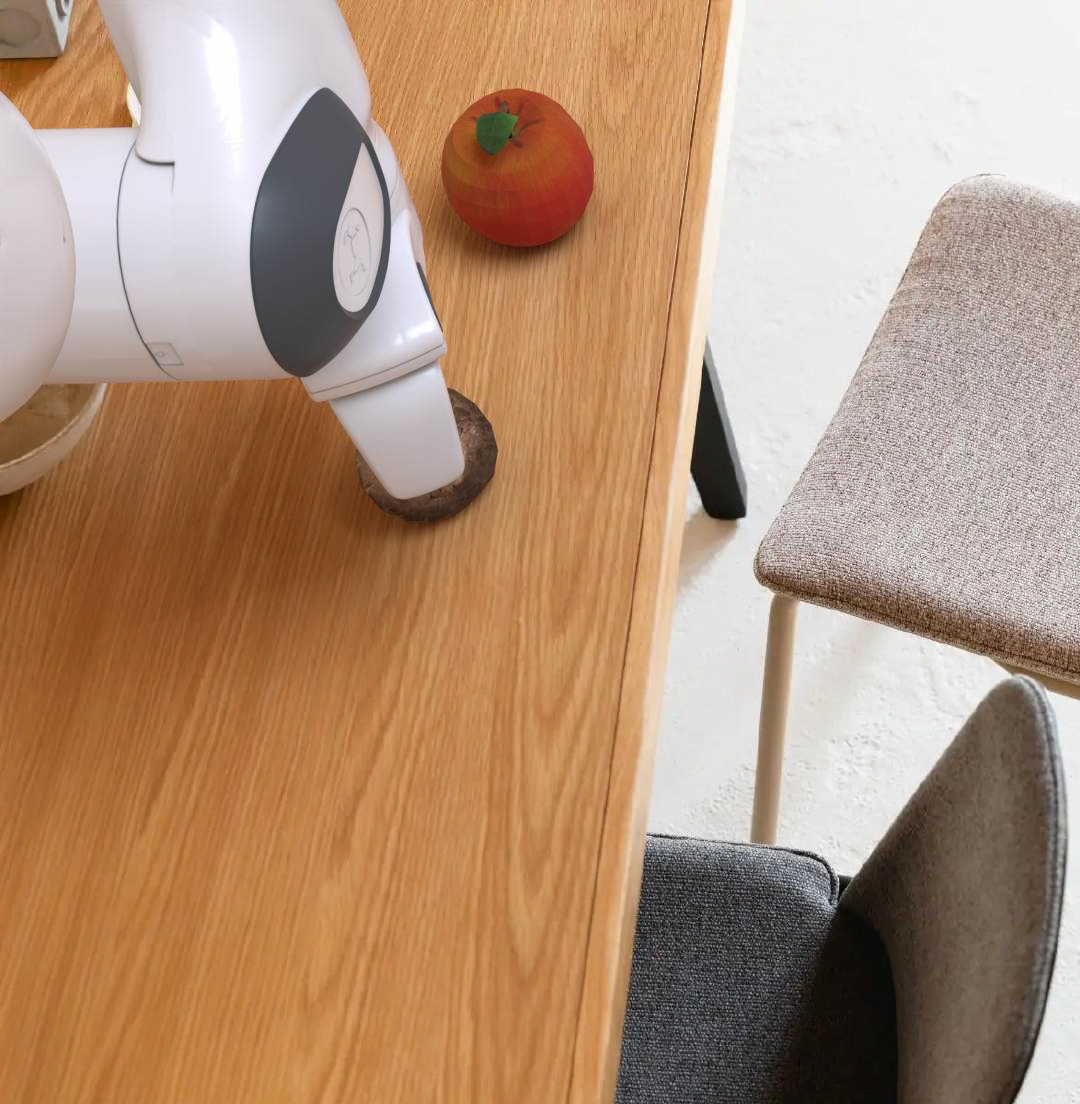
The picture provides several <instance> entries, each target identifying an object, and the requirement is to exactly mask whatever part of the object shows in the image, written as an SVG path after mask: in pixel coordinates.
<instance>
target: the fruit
mask: <svg viewBox="0 0 1080 1104" xmlns="http://www.w3.org/2000/svg"><path fill="white" fill-rule="evenodd" d="M441 154H442V155H441V163H440V173H441V174H440V175H441V179H442V185H443V188H444V190H445V194H446V196H447V200H448V201H449V204H450V205H451V207H452V209H453V210H454V212H455V213H456V215H457V216H458V217H459V218H460V219H461V220H462V221H463V222H465V223H466V224H467V225H468V227H470V228H471V229H472V230H473V231H474V232H475V233H477V234H478V235H480V236H482V237H484V238H487V239H489V240H491V241H493V242H496V243H499V244H502V245H507V246H511V247H517V248H523V247H536V246H537V247H538V246H541V245H544V244H548V243H551V242H554V241H555V240H556V239H558V238H560V237H562V236H564V235H566V233H568V232H569V231H570V230H571V229H572V228H573V227H574V226H575V225H576V224H577V223H578V221H580V219H582V217H583V216H584V213H585V212H586V209H587V207H588V205H589V203H590V200H591V197H592V194H593V192H594V185H595V184H594V180H595V171H594V170H595V165H594V162H595V161H594V156H593V154H592V152H591V149H590V147H589V144H588V142H587V139H586V136H585V134H584V132H583V129H582V128H581V126H580V125H579V124H578V123H577V122H576V120H575V119H574V118H573V117H572V116H571V114H570V113H569V112H568V111H567V110H566V109H565V108H564V107H563V106H562V105H561V104H560V102H559V103H558V102H557V101H555V100H554V99H552V98H551V97H549V96H547V95H546V94H545V93H541V92H538V91H534V90H530V89H529V90H528V89H524V88H519V87H516V88H503V89H499V90H496V91H493V92H491V93H488V94H486V95H484V96H482V97H481V98H479V99H478V100H476V101H475V102H473V103H472V104H470V105H469V107H467V108H466V110H465V111H463V113H462V114H461V115H460V116H459V117H458V118H457V119H456V120H455V122H454V123H453V124H452V126H451V128H450V129H449V132H448V134H447V135H446V138H445V140H444V144H443V149H442V153H441Z"/></svg>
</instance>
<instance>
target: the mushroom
mask: <svg viewBox="0 0 1080 1104" xmlns="http://www.w3.org/2000/svg"><path fill="white" fill-rule="evenodd" d="M447 390H448V394H449V398H450V402H451V406H452V410H453V414H454V418H455V422H456V426H457V430H458V434H459V438H460V442H461V446H462V451H463V455H464V463H465V467H464V471H463V473H462V475H461V476H460V477H459V478H458V479H456V480H455V481H453V482H451V483H449V484H448V485H446V486H443V487H441V488H439V489H436V490H434V491H431V492H429V493H426V494H423V495H420V496H417V497H413V498H409V499H397V498H395V497H393V496H392V495H390V494H389V493H388V492H387V491H386V489H385V488H384V487H383V485H382V484H381V483H380V481H379V480H378V478H377V477H376V475H375V474H374V473H373V471H372V470H371V468H370V467H369V465H368V464H367V462H366V461H365V459H364V458H363V456H362V455H361V453H360V452H359V450H358V449H357V448H356V452H355V457H354V462H355V466H356V471H357V475H358V479H359V483H360V487H361V489H362V490H363V491H364V492H365V493H366V495H367V496H368V497H369V498H370V499H371V500H372V501H373V502H374V503H375V504H376V506H377V507H378V508H379V509H380V510H381V511H384V512H386V513H388V514H390V515H393V516H394V517H396V518H398V519H400V520H402V521H404V522H412V523H413V522H414V523H425V524H434V523H436V522H439V521H442V520H444V519H446V518H449V517H452V516H455V515H457V514H458V513H459V512H461V511H462V510H463V509H464V508H465V507H467V506H468V505H470V504H471V503H472V502H473V501H475V500H476V499H477V498H478V497H479V495H480V494H481V493H482V491H484V489H485V488H486V486H487V485H488V484H489V483H490V482H491V480H492V479H493V478H494V476H495V471H496V470H495V469H496V465H497V459H498V454H499V448H498V444H497V441H496V437H495V433H494V428H493V426H492V423H491V422H490V420H489V419H488V417H486V416H485V414H484V413H483V411H481V409H480V408H479V406H478V405H477V404H476V403H475V402H474V401H472V400H470V399H469V398H467V396H465V395H463V394H462V393H461V392H458V390H456V389H454V388H451V387H447Z"/></svg>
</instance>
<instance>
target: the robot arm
mask: <svg viewBox="0 0 1080 1104" xmlns="http://www.w3.org/2000/svg"><path fill="white" fill-rule="evenodd" d="M96 2H97V4H98V8H99V11H100V13H101V17H102V19H103V22H104V24H105V27H106V30H107V32H108V35H109V37H110V40H111V43H112V45H113V47H114V49H115V52H116V55H117V57H118V59H119V62H120V64H121V67H122V69H123V71H124V73H125V75H126V76H125V77H126V78H127V80H128V83H129V84H130V86H131V88H132V91H133V93H134V95H135V97H136V99H137V102H138V103H139V105H140V120H139V126H124V127H123V126H122V127H121V126H120V127H118V126H117V127H75V128H74V127H71V128H35V129H34V128H33V127H32V126H31V123H29V121H28V120H27V119H26V117H25V116H24V115H23V114H22V112H21V111H20V110H19V109H18V108H17V106H16V105H15V104H14V103H13V102H12V101H11V100H10V99H9V98H8V97H7V96H6V95H5V93H4V92H2V91H1V90H0V424H1V423H2V422H4V421H5V420H6V419H8V418H9V417H10V416H12V415H13V414H14V413H16V412H17V411H18V410H20V408H21V407H23V406H24V405H25V404H26V403H28V402H29V400H30V399H31V398H32V397H33V396H34V395H35V394H36V393H37V392H38V390H39V389H40V387H42V385H43V386H44V385H86V384H87V385H90V384H94V385H95V384H134V383H135V384H138V383H139V384H140V383H143V384H144V383H188V382H228V381H229V382H230V381H235V382H236V381H261V380H267V381H268V380H281V379H289V378H298V379H299V381H300V383H301V384H302V386H303V387H304V390H305V391H306V393H307V395H308V397H309V398H310V399H311V400H312V401H313V402H315V403H323V402H326V401H327V403H328V405H329V406H330V408H331V410H332V411H333V413H334V415H335V417H336V418H337V419H338V421H339V423H340V424H341V427H342V428H343V429H344V431H345V433H346V434H347V436H348V437H349V438H350V440H351V441H352V443H353V445H354V446H355V448H356V450H357V449H358V450H359V452H360V453H361V455H362V456H363V458H364V459H365V461H366V462H367V464H368V465H369V467H370V468H371V470H372V471H373V473H374V474H375V475H376V477H377V478H378V480H379V481H380V483H381V484H382V485H383V487H384V488H385V489H386V491H387V492H388V493H389V494H390V495H392V496H393V497H395V498H397V499H409V498H413V497H417V496H420V495H423V494H426V493H429V492H431V491H434V490H436V489H439V488H441V487H443V486H446V485H448V484H449V483H451V482H453V481H455V480H456V479H458V478H459V477H460V476H461V475H462V473H463V471H464V467H465V463H464V455H463V451H462V446H461V442H460V438H459V434H458V430H457V426H456V422H455V418H454V414H453V410H452V406H451V402H450V398H449V394H448V390H447V388H448V387H447V382H446V380H445V379H446V378H445V377H444V373H443V370H442V369H443V368H442V365H441V362H440V359H441V358H442V357H445V356H446V355H447V353H448V343H447V341H446V339H445V336H444V333H443V332H444V328H443V326H442V324H441V321H440V318H439V316H438V313H437V311H436V309H435V306H434V301H433V298H432V294H431V290H430V286H429V284H428V280H427V266H426V265H427V264H426V255H425V249H424V234H423V228H422V224H421V222H420V218H419V215H418V213H417V210H416V208H415V205H414V201H413V198H412V196H411V193H410V191H409V188H408V186H407V185H408V184H407V183H406V180H405V178H404V175H403V172H402V169H401V166H400V164H399V161H398V158H397V156H396V152H395V150H394V147H393V145H392V143H391V141H390V139H389V138H388V136H387V134H386V133H385V131H384V130H383V129H382V128H381V126H380V125H379V124H378V123H377V122H376V120H375V119H374V118H373V116H372V94H371V87H370V82H369V78H368V76H367V74H366V70H365V67H364V65H363V61H362V59H361V56H360V54H359V53H360V52H359V50H358V48H357V46H356V43H355V41H354V39H353V37H352V33H351V32H350V29H349V27H348V26H349V25H348V24H347V22H346V20H345V17H344V15H343V12H342V11H341V8H340V6H339V4H338V2H337V0H96Z"/></svg>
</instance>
